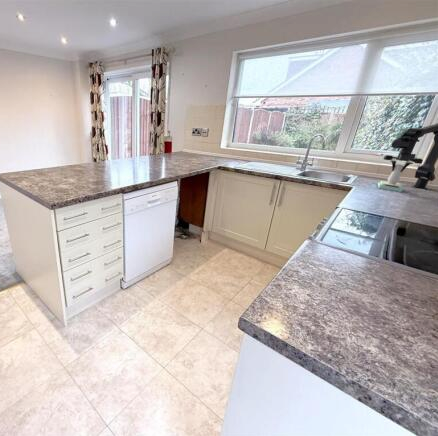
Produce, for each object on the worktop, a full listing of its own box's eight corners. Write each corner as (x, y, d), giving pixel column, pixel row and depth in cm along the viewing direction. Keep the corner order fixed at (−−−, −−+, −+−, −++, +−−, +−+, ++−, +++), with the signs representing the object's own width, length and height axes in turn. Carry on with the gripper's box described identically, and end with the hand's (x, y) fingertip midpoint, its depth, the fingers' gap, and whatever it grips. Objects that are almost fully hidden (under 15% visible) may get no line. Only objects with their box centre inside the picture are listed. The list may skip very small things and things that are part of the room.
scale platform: (380, 181, 180) (381, 180, 179) (399, 184, 174) (399, 183, 174) (381, 184, 172) (382, 183, 171) (401, 187, 166) (401, 186, 166)
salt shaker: (399, 184, 169) (407, 166, 164) (389, 184, 171) (397, 165, 165) (393, 182, 175) (401, 164, 169) (384, 181, 176) (392, 163, 170)
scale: (377, 184, 182) (379, 180, 180) (399, 187, 175) (401, 183, 174) (378, 188, 171) (380, 184, 170) (401, 192, 165) (404, 187, 163)
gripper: (389, 147, 162) (379, 171, 169) (429, 151, 152) (417, 176, 158) (388, 146, 170) (378, 168, 177) (426, 149, 160) (414, 173, 166)
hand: (396, 171), depth 169 cm, fingers closed on salt shaker, 4 cm apart
